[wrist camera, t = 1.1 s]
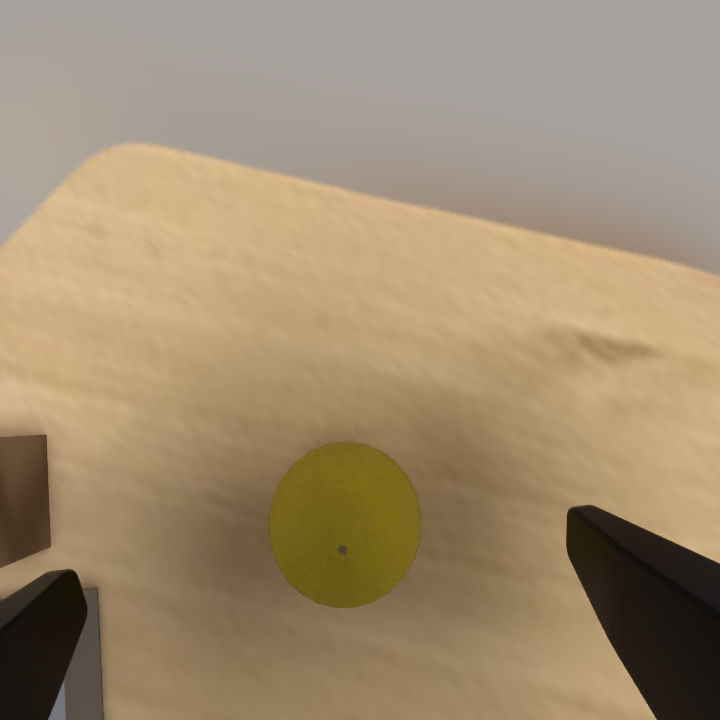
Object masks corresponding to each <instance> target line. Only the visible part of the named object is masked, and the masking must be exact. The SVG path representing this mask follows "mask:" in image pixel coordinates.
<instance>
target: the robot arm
mask: <svg viewBox="0 0 720 720" xmlns="http://www.w3.org/2000/svg"><path fill="white" fill-rule="evenodd" d="M566 547H567V553H568V556H569V559H570V561H571V563H572V565H573V567H574V569H575V571H576V573H577V575H578V578H579V580H580V582H581V584H582V586H583V588H584V590H585V592H586V594H587V596H588V598H589V600H590V603H591V605H592V607H593V609H594V611H595V613H596V615H597V617H598V619H599V621H600V623H601V625H602V627H603V629H604V631H605V633H606V635H607V637H608V639H609V641H610V643H611V644H612V646H613V648H614V650H615V651H616V653H617V655H618V656H619V658H620V660H621V661H622V663H623V665H624V666H625V668H626V670H627V671H628V673H629V675H630V676H631V678H632V679H633V681H634V683H635V684H636V686H637V688H638V689H639V691H640V693H641V694H642V696H643V698H644V699H645V701H646V702H647V704H648V706H649V707H650V709H651V711H652V712H653V714H654V716H655V717H656V719H657V720H720V563H717V562H715V561H713V560H711V559H709V558H706V557H704V556H702V555H700V554H698V553H696V552H693V551H691V550H689V549H687V548H685V547H683V546H680V545H678V544H676V543H674V542H672V541H670V540H667V539H665V538H663V537H661V536H659V535H656V534H654V533H652V532H650V531H648V530H646V529H643V528H641V527H639V526H637V525H635V524H633V523H630V522H628V521H626V520H624V519H622V518H619V517H617V516H615V515H613V514H611V513H609V512H606V511H604V510H602V509H600V508H598V507H596V506H593V505H584V506H576V507H571V508H570V509H569V510H568V513H567V535H566ZM87 615H88V606H87V602H86V599H85V596H84V593H83V590H82V587H81V584H80V581H79V578H78V575H77V573H76V572H75V571H74V570H71V569H65V570H56V571H50V572H47V573H45V574H43V575H42V576H40V577H39V578H37V579H36V580H34V581H32V582H31V583H29V584H28V585H26V586H25V587H23V588H21V589H20V590H18V591H17V592H15V593H14V594H12V595H10V596H9V597H7V598H6V599H4V600H3V601H1V602H0V720H48V719H49V717H50V714H51V712H52V710H53V707H54V705H55V702H56V700H57V697H58V695H59V692H60V689H61V687H62V684H63V681H64V679H65V676H66V673H67V671H68V668H69V665H70V663H71V660H72V657H73V655H74V652H75V649H76V647H77V644H78V641H79V639H80V636H81V633H82V631H83V628H84V625H85V623H86V619H87Z"/></svg>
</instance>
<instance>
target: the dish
mask: <svg viewBox="0 0 720 720" xmlns="http://www.w3.org/2000/svg"><path fill="white" fill-rule="evenodd" d="M83 593H84V596H85V599H86V602H87V606H88V615H87V619H86V623H85V625H84V628H83V631H82V633H81V636H80V639H79V641H78V644H77V647H76V649H75V652H74V655H73V657H72V660H71V663H70V665H69V668H68V671H67V673H66V676H65V679H64V681H63V684H62V687H61V689H60V692H59V695H58V697H57V700H56V702H55V705H54V707H53V710H52V712H51V714H50V717H49V719H48V720H103V703H102V682H101V661H100V640H99V619H98V599H97V588H92V589H84V590H83ZM1 601H3V600H0V602H1Z"/></svg>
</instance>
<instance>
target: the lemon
mask: <svg viewBox="0 0 720 720" xmlns="http://www.w3.org/2000/svg"><path fill="white" fill-rule="evenodd" d="M269 532H270V543H271V547H272V550H273V553H274V557H275V560H276V563H277V565H278V566H279V568H280V569H281V571H282V573H283V574H284V576H285V578H286V579H287V581H288V582H289V583H290V584H291V585H292V586H293V587H294V588H296V589H297V590H298V591H299V592H300V593H301V594H302V595H304V596H306V597H308V598H309V599H311V600H313V601H315V602H316V603H319V604H323V605H327V606H331V607H335V608H349V607H358V606H361V605H365V604H368V603H371V602H374V601H376V600H377V599H379V598H381V597H382V596H384V595H385V594H387V593H389V592H390V591H391V590H392V589H393V588H394V587H395V586H396V585H397V584H398V583H399V582H400V581H401V580H402V578H403V577H404V576H405V574H406V573H407V571H408V569H409V567H410V566H411V564H412V562H413V560H414V558H415V555H416V552H417V548H418V545H419V541H420V537H421V512H420V507H419V503H418V498H417V494H416V492H415V490H414V488H413V486H412V484H411V482H410V480H409V478H408V476H407V475H406V474H405V472H404V471H403V470H402V469H401V468H400V466H399V465H398V464H397V463H396V462H395V461H394V460H392V459H391V458H390V457H388V456H387V455H385V454H384V453H382V452H381V451H380V450H377V449H374V448H372V447H369V446H367V445H364V444H358V443H349V442H342V443H335V444H329V445H325V446H323V447H320V448H318V449H316V450H313V451H311V452H309V453H308V454H306V455H305V456H304V457H302V458H301V459H300V460H298V461H297V462H296V463H295V464H294V465H293V466H292V467H291V468H290V470H289V471H288V472H287V474H286V475H285V476H284V477H283V479H282V480H281V482H280V484H279V486H278V489H277V491H276V493H275V495H274V497H273V501H272V506H271V511H270V516H269Z"/></svg>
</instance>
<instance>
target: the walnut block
mask: <svg viewBox="0 0 720 720" xmlns="http://www.w3.org/2000/svg"><path fill="white" fill-rule="evenodd" d="M48 547H51V541H50V515H49V489H48V463H47V436H46V435H34V436H17V437H1V438H0V568H2V567H4V566H6V565H9V564H11V563H13V562H16V561H18V560H20V559H23V558H25V557H27V556H30V555H32V554H34V553H37V552H39V551H41V550H44V549H46V548H48Z"/></svg>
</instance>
